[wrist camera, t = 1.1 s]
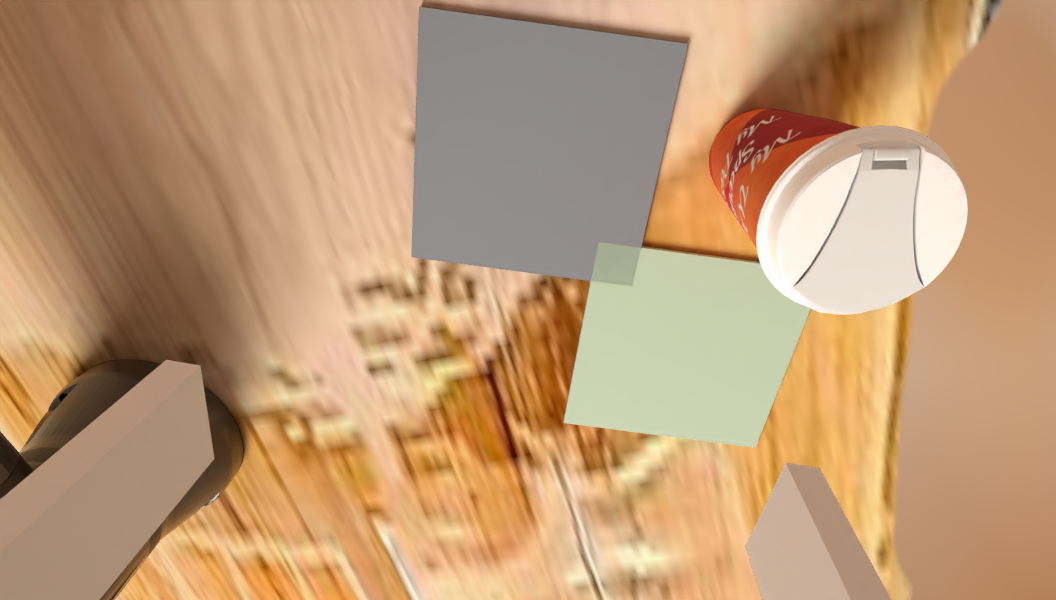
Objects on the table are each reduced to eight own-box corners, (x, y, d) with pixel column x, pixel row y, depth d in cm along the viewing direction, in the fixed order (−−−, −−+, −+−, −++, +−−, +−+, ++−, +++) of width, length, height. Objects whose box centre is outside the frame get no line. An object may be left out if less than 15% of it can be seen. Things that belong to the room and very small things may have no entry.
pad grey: (413, 255, 40) (411, 257, 40) (420, 7, 33) (419, 6, 33) (631, 284, 40) (632, 286, 40) (686, 43, 33) (688, 43, 33)
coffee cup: (697, 89, 34) (786, 133, 21) (834, 86, 34) (1015, 129, 20) (684, 220, 38) (752, 327, 25) (807, 219, 38) (944, 328, 24)
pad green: (563, 419, 46) (563, 422, 46) (598, 240, 39) (598, 242, 39) (753, 444, 46) (755, 447, 46) (823, 270, 39) (825, 272, 39)
